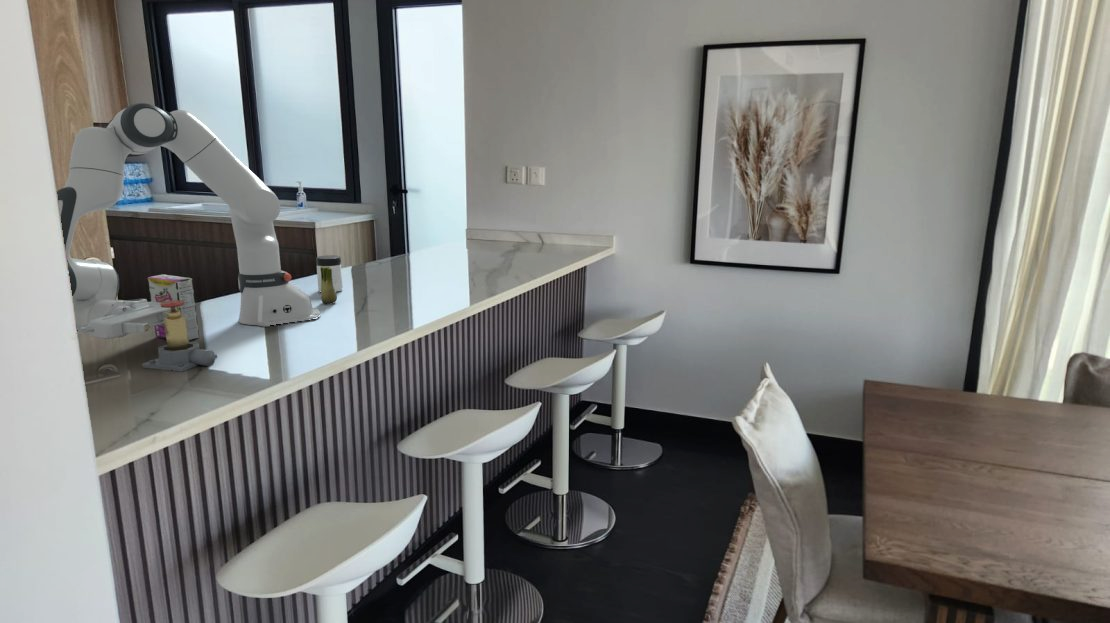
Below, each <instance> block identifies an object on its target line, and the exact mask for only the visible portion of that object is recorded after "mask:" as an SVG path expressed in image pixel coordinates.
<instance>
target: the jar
mask: <svg viewBox="0 0 1110 623" xmlns="http://www.w3.org/2000/svg"><path fill="white" fill-rule="evenodd" d="M341 258H342V257H341V256H339V255H333V254H331V255H328V254H327V255H320V256H316V258H315V261H316V275H317V276H316V278H317V290H318V292H319V291H321V267H330V268H331V269H332V282H333V287H334V290H335V291H341V292H342V291H343V289H342V288H343V275H342V260H341Z"/></svg>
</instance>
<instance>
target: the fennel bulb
mask: <svg viewBox="0 0 1110 623" xmlns="http://www.w3.org/2000/svg"><path fill="white" fill-rule="evenodd" d="M320 299H321V303H322V304H324V303H332V304H334V303H336V301H337V300H338V295H337V292H335V290H334V287H333V282H332V269H331V268H330V267H321V293H320ZM333 302H334V303H333Z"/></svg>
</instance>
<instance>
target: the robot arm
mask: <svg viewBox="0 0 1110 623" xmlns="http://www.w3.org/2000/svg"><path fill="white" fill-rule="evenodd" d="M158 147H164V148H166V149H167V150H169V151H170V152H172V153H174V154H175V155H176V156H177V157H178V159H179V160H180V161H181V162H182V163H184V165H185V166H186V167H187V168H189V169H190V171H191V172H192V173H193V174H194V175H195V176H196V177H197V178H198V179H199V180H200V181H201V182H202V183H203V184H204V185H205V186H206V187H208V188H209V189H210V190H211V191H212V192H213V193H214V194H215V195H217V196H218V197H219V198H220V199H221V200H222V201H223V202H224V203H225V204H226V205H227V206H228V208H229V214H230V219H231V225H232V230H233V234H234V239H235V244H236V251H237V260H238V269H239V272H238V274H237V275H238V277H237V280H238V290H239V292H240V308H239V310H240V311H239V316H238V321H237V322H238V323H240V324H242V325H249V326H258V327H271V326H270V325H274V326H277V325H276V324H281V325H284V324H283V323H288V324H290V323H289V322H295V323H298V322H297V321H302V322H304V321H303V320H309V319H313V318H316V317H318V316H319V315H320V316H321V312H320V310H319V309H318V308H316V307H313V305H312V302H311V298H310V296H309V295H308V294H307V293H306V292H305V291H303V290H302V289H300V288H298V287H296V286H295V285H293V284H292V283H291V282H290V281H291V280H292V275H291V274H290V273H288V272H287V271H284V270H282V269H281V268H282V267H281V259H280V258H281V256H280V247H279V244H280V243H279V241H278V239H277V238H278V237H277V235H276V234H277V233H276V231H275V226H274V221H275V220H277V218H278V217H279V215H280V213H281V203H280V200H279V198H278V196H277V195H276V193H275V192H274V191H272V189H271V188H269V187H268V185H266V183H264V181H263V180H261V179H260V178H259V177H258V176H257V175H256V174H255V173H254V172H253V171H252V170H250V168H249V167H247V165H245V164H244V163H243V162H242V161H241V160H240V159H239V158H238V157H237V156H236V155H235V154H234V153H233V151H231V150H230V149H229V147H227V146H226V145H225V144H224V143H223V142H222V140H221V139H220V138H219V137H218V136H217V135H216V134H215V132H213V131H212V130H211V129H210V128H209V127H208V126H206V125H205V124H204V123H203V122H202V121H201V120H199V119H198V118H197V117H196V116H195V115H193V114H192V113H190V112H189V111H186V110H183V109H177V110H172V111H170V112H169V111H167V110H164V109H162V108H160V107H158V106H156V105H153V104H150V103H146V102H138V103H134V104H130V105H128V106H127V107H125V108H123V109H122V110H120V111H118V113H116V115H115V116H114V117H113V118H112V119H111V120H110V121H109V122H108V123H107V125H105V127H102V126H101V127H100V126H89V127H84V128H82V129H80V130H79V131H78V132H77V133H76V135H75V138H74V141H73V145H72V148H71V154H70V160H69V167H68V168H69V170H68V176H67V180H66V181H65V184H64V185H63V187H62V188H60V189H58V190H57V191H56V192H57V194H58V201H59V208H60V216H61V223H62V230H63V237H64V244H65V250H66V256H67V262H68V269H69V276H70V283H71V290H72V296H73V303H74V311H75V317H76V324H77V330H78V335H84V336H86V335H87V336H90V337H93V338H99V339H101V340H102V339H103V340H111V339H116V338H118V339H120V338H123V337H125V336H128V335H129V334H133V333H145V332H148V331H150V328H153V327H155V326H156V325H160V324H163V323H164V318H166V317H167V311H169V310H171V308H164V307H161V305H160V304H161V303H160V302H151V301H148V300H147V298H136V299H128V300H123V299H117V297H118V295H119V290H120V277H119V273H118V272H117V270H116V268H115V267H114V266H113V265H111V264H110V263H108V262H106V261H99V260H92V259H81V258H72V256H71V254H70V253H71V249H72V248H71V247H72V243H73V239H74V235H75V231H76V226H77V224H78V222H79V220H80V219H81V218H82V217H84V216H85V215H87V214H89V213H90V214H91V213H95V212H99V211H103V210H106V209H109V208H111V207H113V206H114V205H115V204H117V202H119V201H120V199H121V198H122V195H123V190H124V180H125V179H124V176H125V163H126V159H127V158H131V157H139V156H144V155H145V154H147V153H150V152H153V151H154V150H155V149H157V148H158ZM175 308H176V307H175ZM176 310H177V308H176Z"/></svg>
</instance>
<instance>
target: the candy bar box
mask: <svg viewBox="0 0 1110 623" xmlns="http://www.w3.org/2000/svg"><path fill="white" fill-rule="evenodd" d="M147 282H148V283H147V284H148V289H149V297H150V302H160V303H162V302H166V301H174V300H181V301H184V305H182V306H178V307H176V308H177V310H180V312H181V316H185V319H186V327H187V334H188V341H189V342H191V341H194V340H198V339H200V333H199V332H200V331H199V330H200V329H199V324H198V315H197V308H196V305H197V304H196V298H195V291H194V282H193V278H191V277H185V276H177V275H171V274H158V275H153V276H149V277H147ZM154 332H155V337H156V338H160V339H165V340H167V339H166V332H165V325H164V323H163V324H160V325H156V326H154ZM193 339H194V340H193ZM190 340H191V341H190Z"/></svg>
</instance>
